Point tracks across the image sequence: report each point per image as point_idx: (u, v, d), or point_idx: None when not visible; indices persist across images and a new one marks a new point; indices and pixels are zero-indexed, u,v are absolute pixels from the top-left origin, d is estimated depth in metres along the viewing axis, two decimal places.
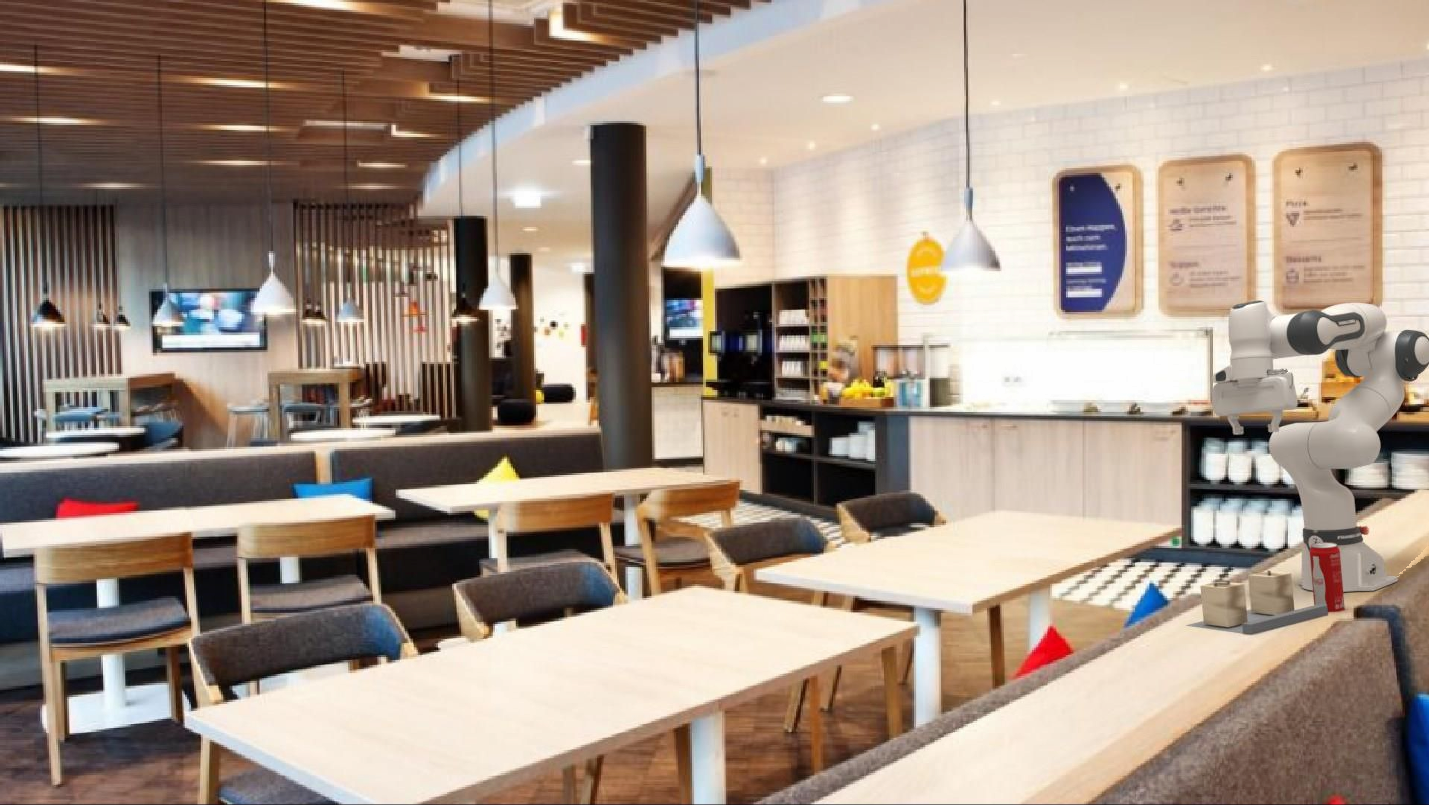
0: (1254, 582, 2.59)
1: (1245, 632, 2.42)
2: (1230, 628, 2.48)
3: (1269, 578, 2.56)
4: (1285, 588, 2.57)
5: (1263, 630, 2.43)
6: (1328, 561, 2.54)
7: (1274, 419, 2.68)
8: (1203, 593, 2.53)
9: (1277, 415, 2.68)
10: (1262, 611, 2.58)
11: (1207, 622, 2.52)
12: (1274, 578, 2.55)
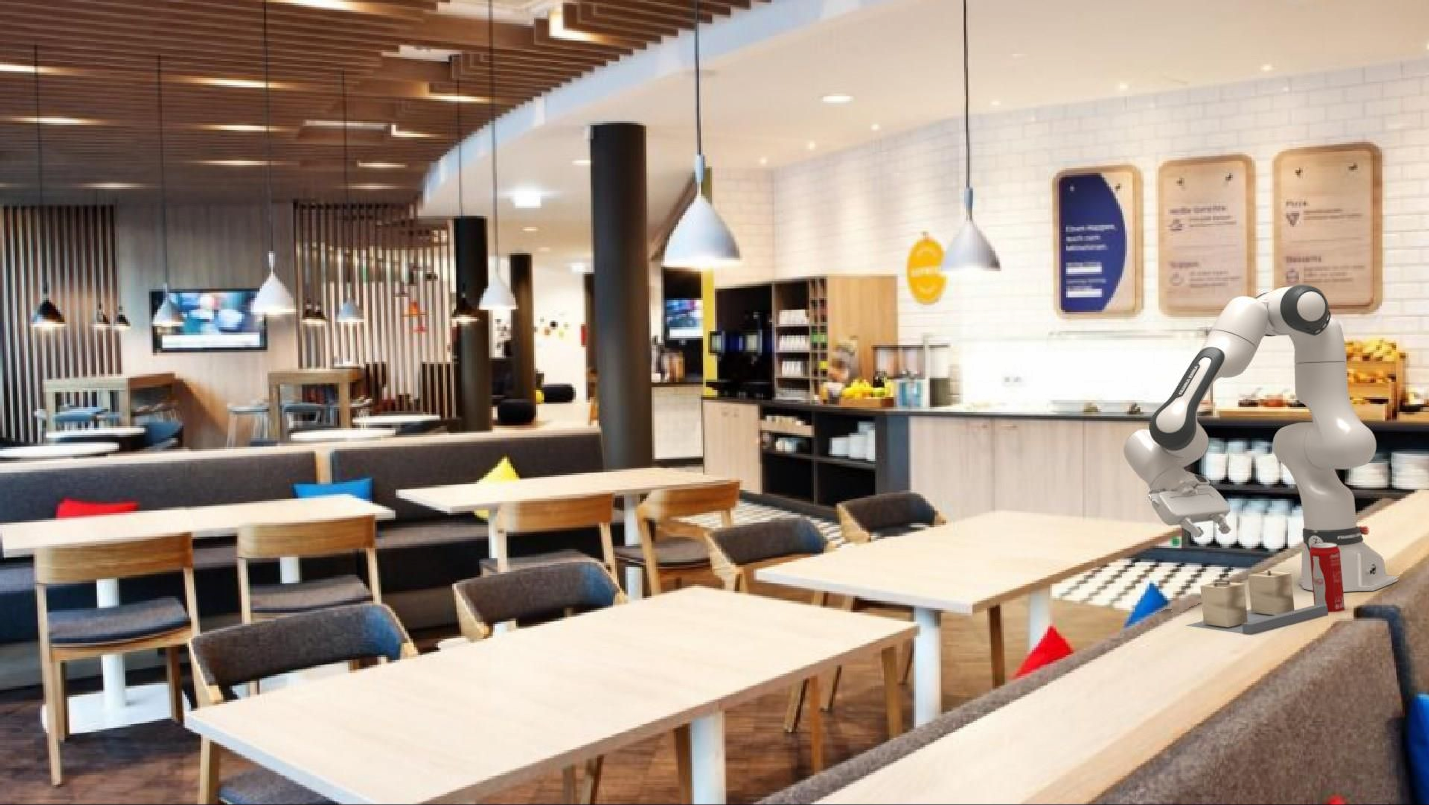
0: (1254, 582, 2.59)
1: (1245, 632, 2.42)
2: (1230, 628, 2.48)
3: (1269, 578, 2.56)
4: (1285, 588, 2.57)
5: (1263, 630, 2.43)
6: (1328, 561, 2.54)
7: None
8: (1203, 593, 2.53)
9: (1182, 525, 2.70)
10: (1262, 611, 2.58)
11: (1207, 622, 2.52)
12: (1274, 578, 2.55)
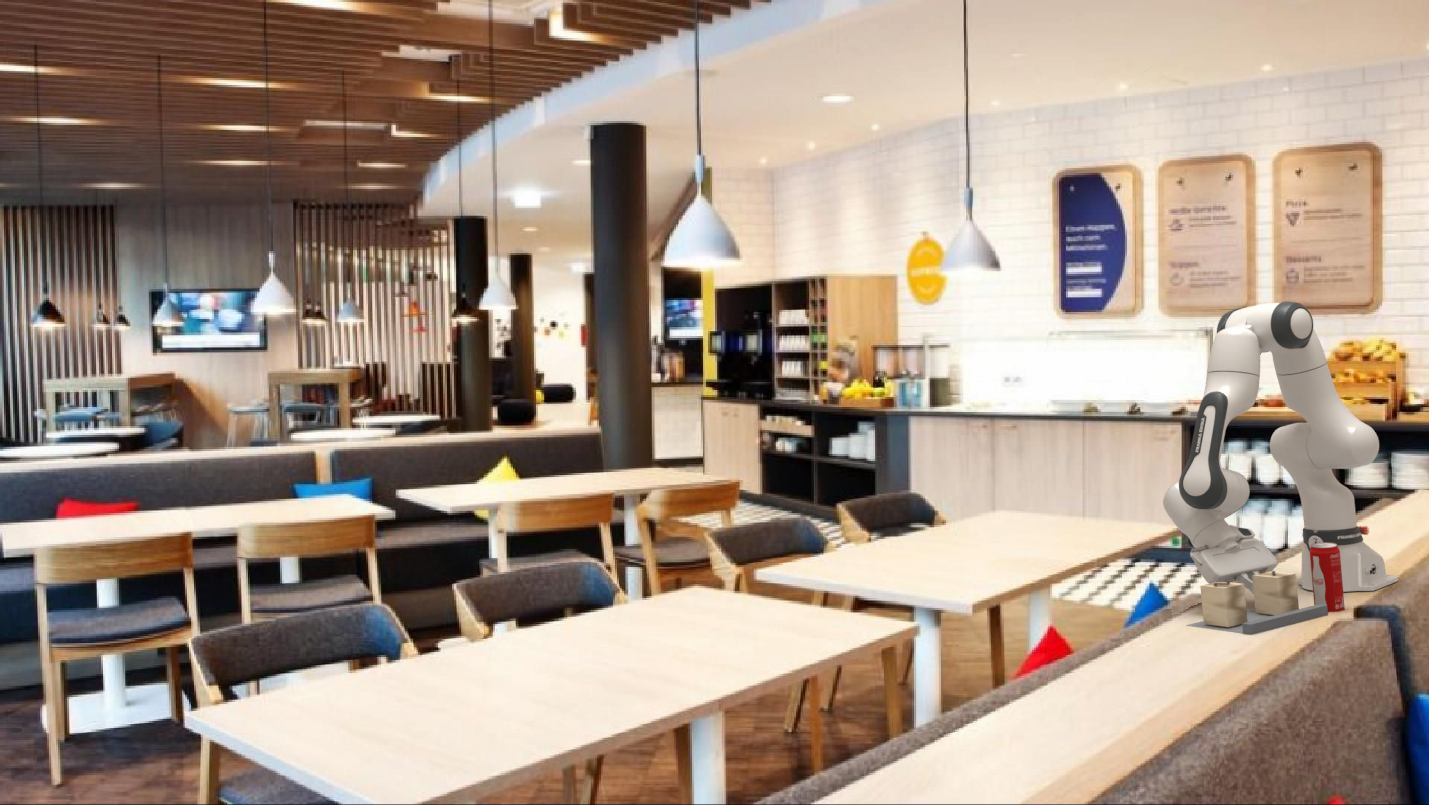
0: (1258, 582, 2.58)
1: (1245, 632, 2.42)
2: (1230, 628, 2.48)
3: (1274, 578, 2.55)
4: (1290, 588, 2.56)
5: (1263, 630, 2.43)
6: (1328, 561, 2.54)
7: None
8: (1203, 593, 2.53)
9: (1239, 582, 2.63)
10: (1266, 612, 2.57)
11: (1207, 622, 2.52)
12: (1279, 578, 2.54)
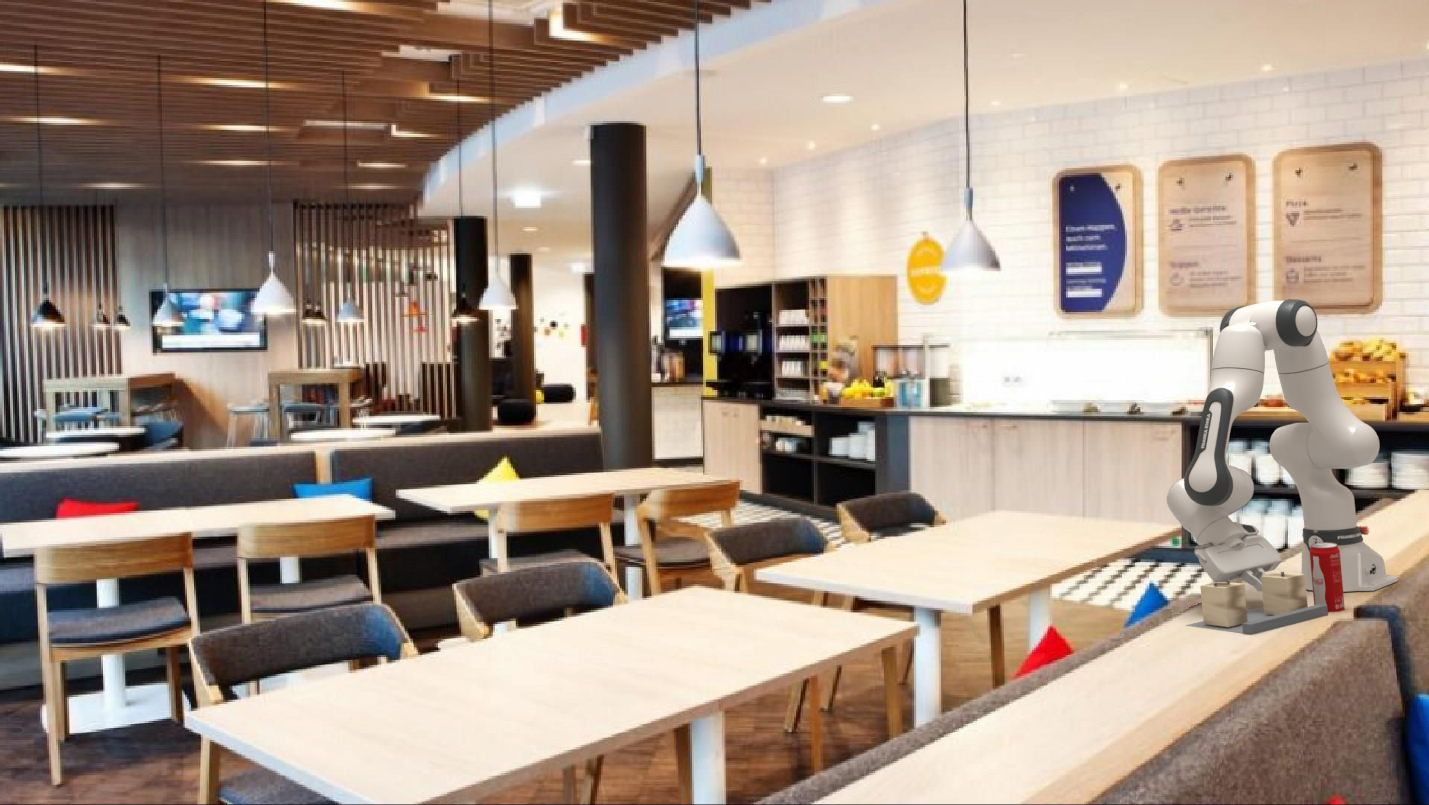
0: (1267, 583, 2.56)
1: (1245, 632, 2.42)
2: (1230, 628, 2.48)
3: (1283, 579, 2.53)
4: (1299, 589, 2.54)
5: (1263, 630, 2.43)
6: (1327, 561, 2.54)
7: None
8: (1203, 593, 2.53)
9: (1244, 579, 2.62)
10: (1275, 613, 2.55)
11: (1207, 622, 2.52)
12: (1288, 579, 2.53)
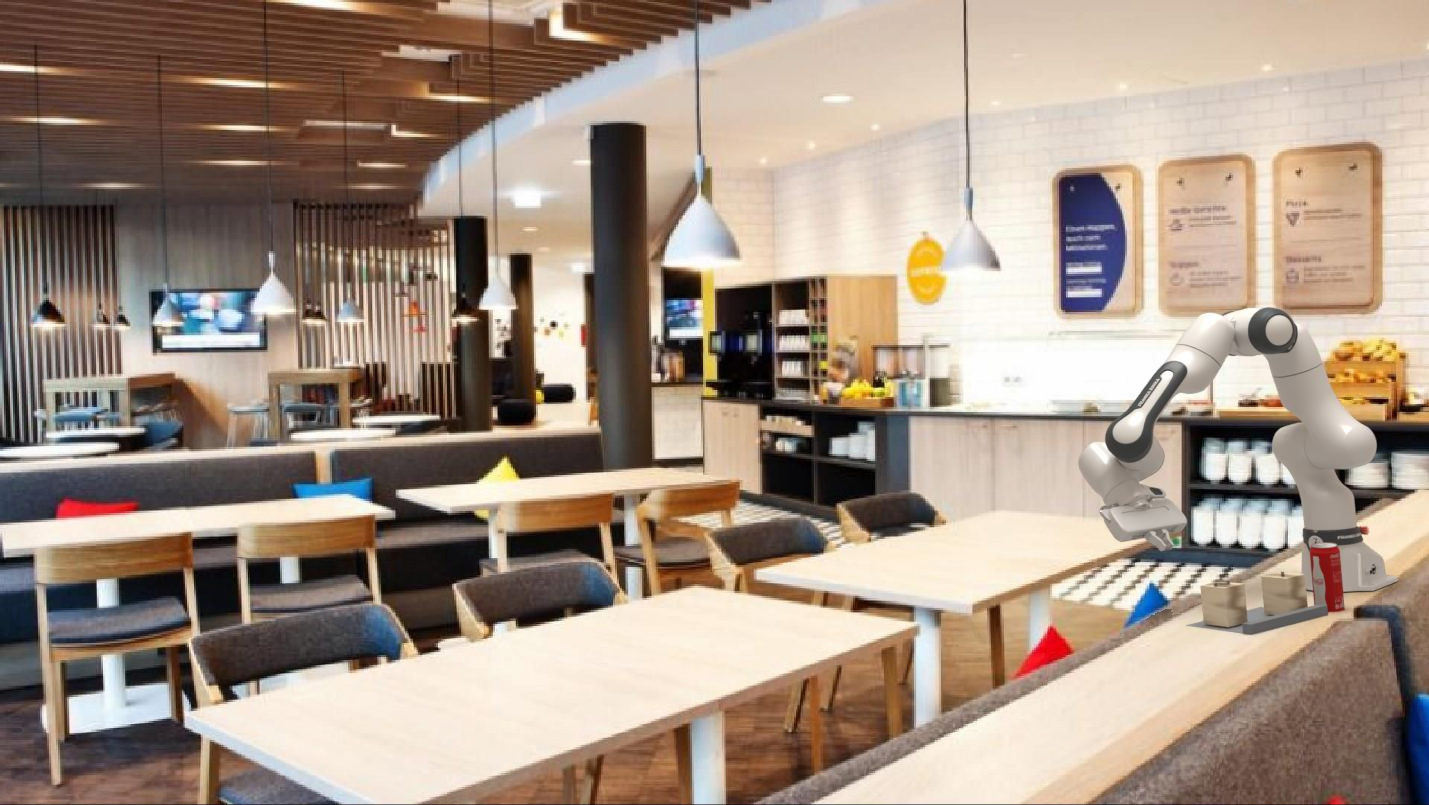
0: (1267, 583, 2.56)
1: (1245, 632, 2.42)
2: (1230, 628, 2.48)
3: (1283, 579, 2.53)
4: (1299, 589, 2.54)
5: (1263, 630, 2.43)
6: (1328, 561, 2.54)
7: None
8: (1203, 593, 2.53)
9: (1147, 539, 2.65)
10: (1275, 613, 2.55)
11: (1207, 622, 2.52)
12: (1288, 579, 2.53)
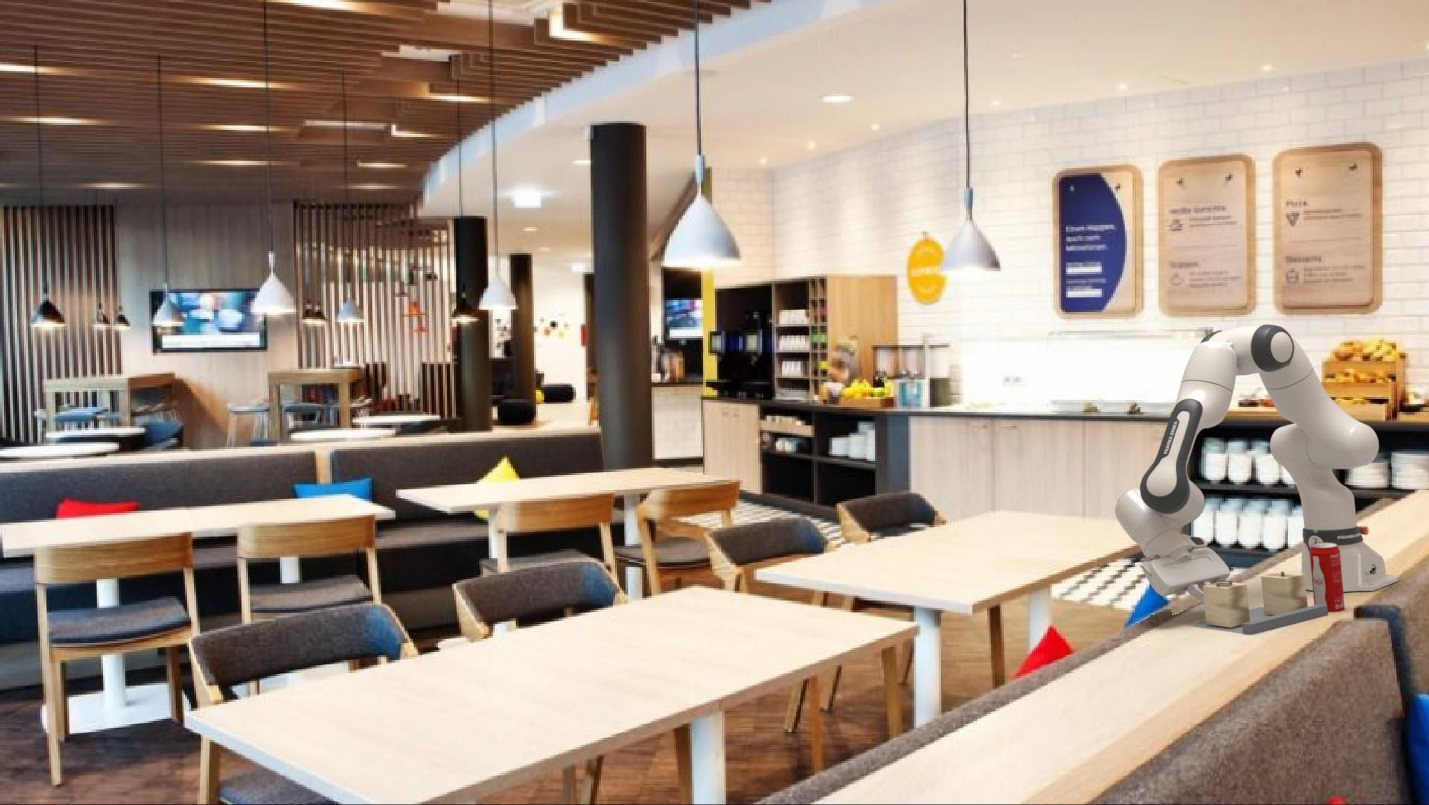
0: (1267, 583, 2.56)
1: (1245, 632, 2.42)
2: (1230, 628, 2.48)
3: (1283, 579, 2.53)
4: (1299, 589, 2.54)
5: (1263, 630, 2.43)
6: (1328, 561, 2.54)
7: None
8: (1205, 593, 2.52)
9: (1190, 593, 2.56)
10: (1275, 613, 2.55)
11: (1209, 622, 2.52)
12: (1288, 579, 2.53)
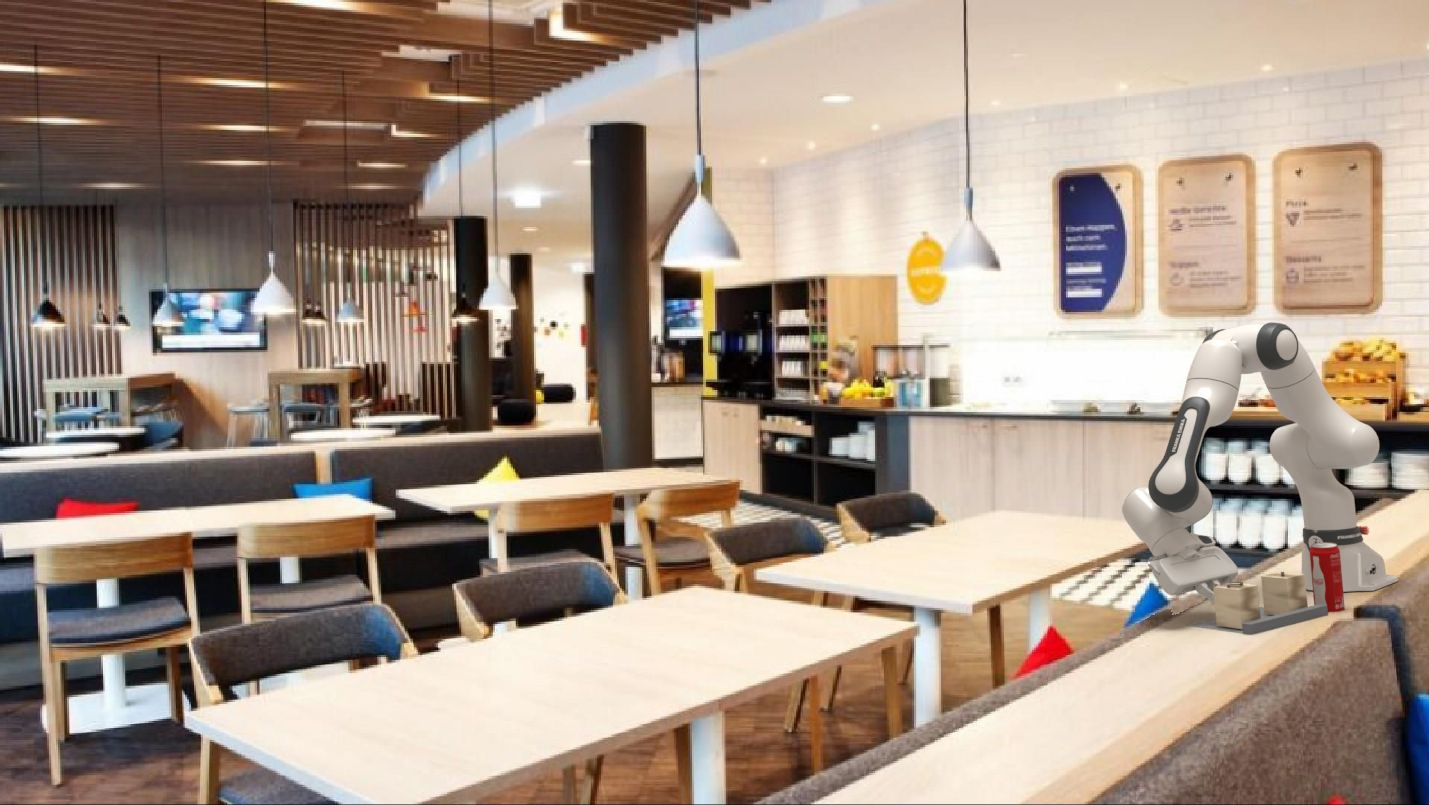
0: (1267, 583, 2.56)
1: (1245, 632, 2.42)
2: (1230, 628, 2.48)
3: (1283, 579, 2.53)
4: (1299, 589, 2.54)
5: (1263, 630, 2.43)
6: (1328, 561, 2.54)
7: None
8: (1216, 594, 2.50)
9: (1198, 592, 2.54)
10: (1275, 613, 2.55)
11: (1220, 624, 2.50)
12: (1288, 579, 2.53)
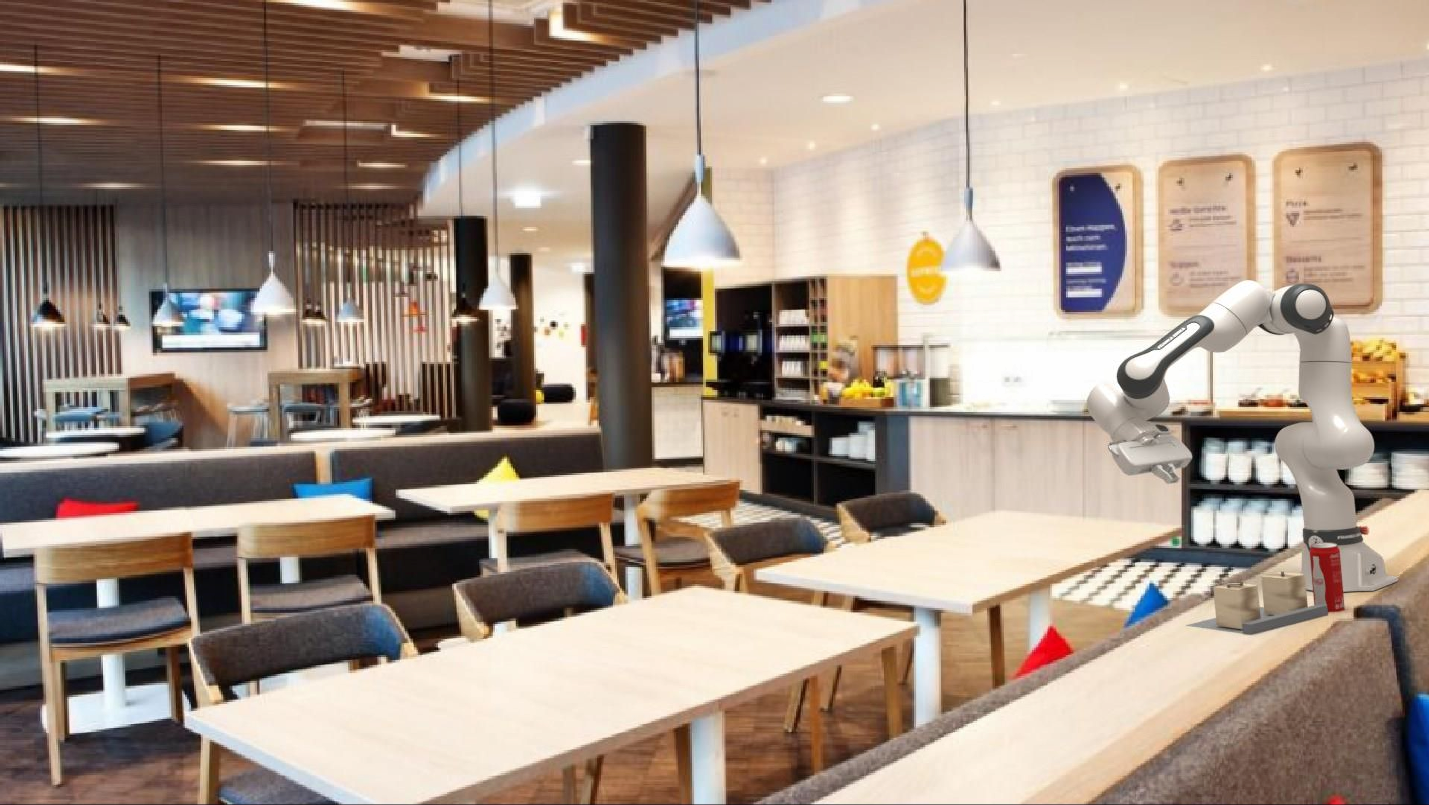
0: (1267, 583, 2.56)
1: (1245, 632, 2.42)
2: (1230, 628, 2.48)
3: (1283, 579, 2.53)
4: (1299, 589, 2.54)
5: (1263, 630, 2.43)
6: (1328, 561, 2.54)
7: None
8: (1216, 594, 2.50)
9: (1154, 473, 2.76)
10: (1275, 613, 2.55)
11: (1220, 624, 2.50)
12: (1288, 579, 2.53)
